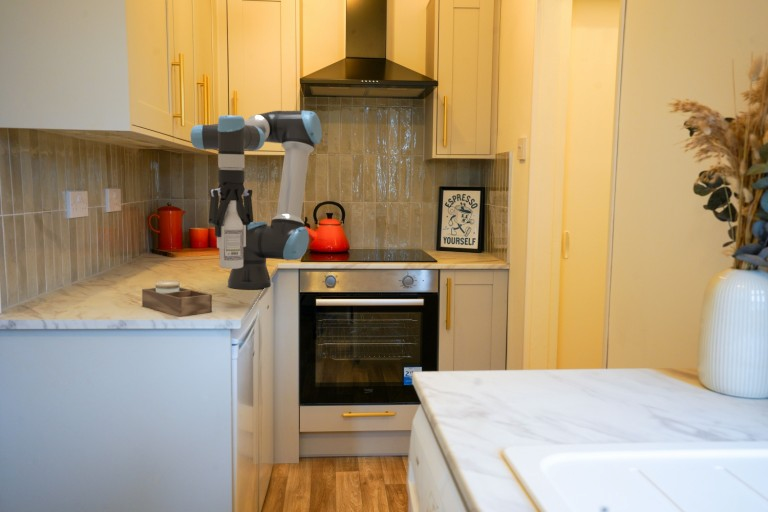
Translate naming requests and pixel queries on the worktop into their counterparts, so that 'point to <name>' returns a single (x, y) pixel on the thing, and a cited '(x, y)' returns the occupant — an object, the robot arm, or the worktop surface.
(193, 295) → the caddy
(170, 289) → the cream jar
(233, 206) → the bath foam
